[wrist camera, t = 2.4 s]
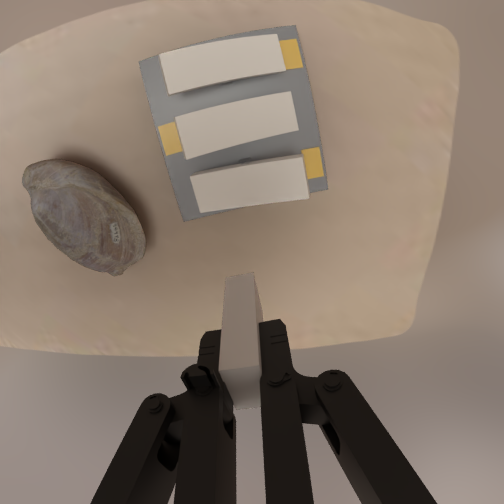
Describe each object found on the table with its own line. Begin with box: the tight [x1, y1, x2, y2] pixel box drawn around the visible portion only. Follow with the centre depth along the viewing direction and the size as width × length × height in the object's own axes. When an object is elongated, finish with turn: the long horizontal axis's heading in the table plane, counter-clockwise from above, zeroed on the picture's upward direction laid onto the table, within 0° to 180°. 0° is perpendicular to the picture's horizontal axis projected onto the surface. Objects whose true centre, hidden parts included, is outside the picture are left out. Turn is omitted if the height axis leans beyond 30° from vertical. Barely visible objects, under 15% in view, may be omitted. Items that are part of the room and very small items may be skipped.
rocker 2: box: [174, 91, 299, 160], centre depth 24 cm, size 10×4×2 cm, turn 102°
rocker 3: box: [190, 154, 310, 213], centre depth 26 cm, size 10×4×2 cm, turn 103°
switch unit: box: [139, 25, 328, 222], centre depth 27 cm, size 15×17×5 cm
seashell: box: [22, 159, 146, 276], centre depth 29 cm, size 9×12×15 cm
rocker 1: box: [158, 34, 286, 97], centre depth 21 cm, size 10×4×2 cm, turn 102°
